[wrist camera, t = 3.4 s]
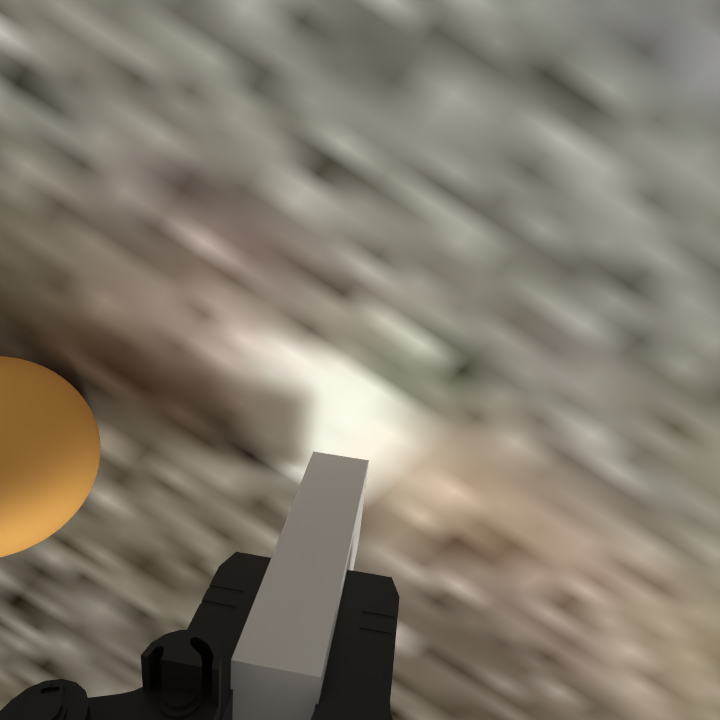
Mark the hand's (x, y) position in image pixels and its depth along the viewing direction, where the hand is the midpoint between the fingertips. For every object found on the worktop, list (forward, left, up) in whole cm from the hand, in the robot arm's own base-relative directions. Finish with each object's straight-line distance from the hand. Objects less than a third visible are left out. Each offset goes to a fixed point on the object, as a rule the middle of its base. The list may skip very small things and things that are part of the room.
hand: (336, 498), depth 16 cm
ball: (-7, +6, +1) cm, 10 cm away
